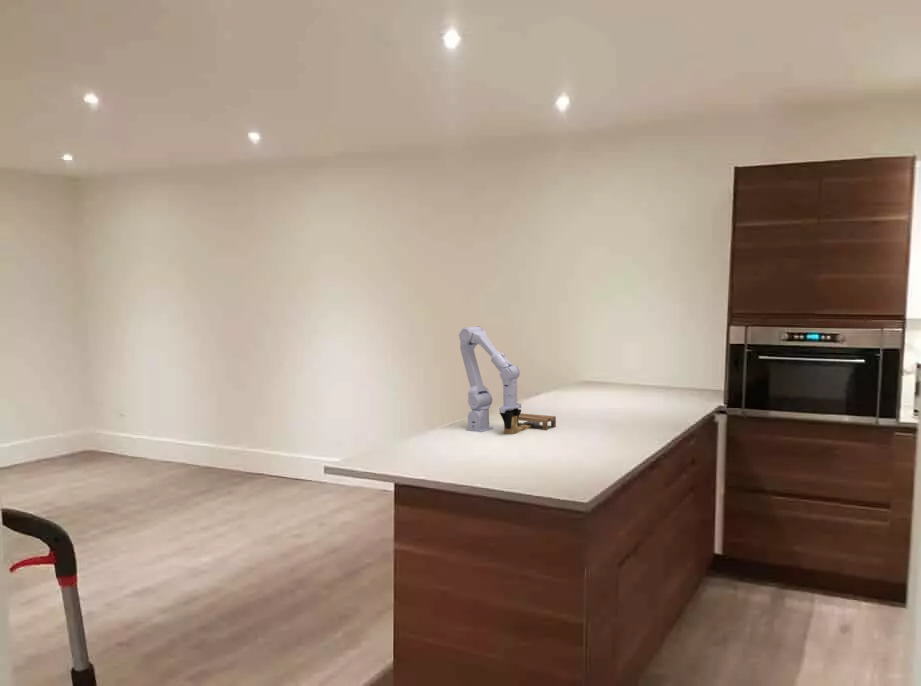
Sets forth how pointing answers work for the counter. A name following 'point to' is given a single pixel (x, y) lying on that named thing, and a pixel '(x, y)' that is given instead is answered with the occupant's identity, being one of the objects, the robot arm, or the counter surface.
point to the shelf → (539, 419)
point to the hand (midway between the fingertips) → (510, 427)
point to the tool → (514, 427)
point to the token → (533, 423)
